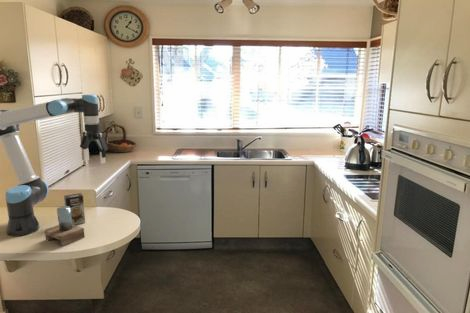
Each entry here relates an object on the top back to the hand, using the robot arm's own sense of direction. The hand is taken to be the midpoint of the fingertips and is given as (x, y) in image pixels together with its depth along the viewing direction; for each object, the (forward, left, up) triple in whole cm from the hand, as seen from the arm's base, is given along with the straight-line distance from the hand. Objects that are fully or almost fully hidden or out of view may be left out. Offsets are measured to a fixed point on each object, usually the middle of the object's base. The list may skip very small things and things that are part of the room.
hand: (94, 161), depth 197 cm
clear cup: (+5, -24, -29) cm, 38 cm away
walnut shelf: (+5, -25, -34) cm, 43 cm away
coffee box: (-9, -9, -35) cm, 37 cm away
